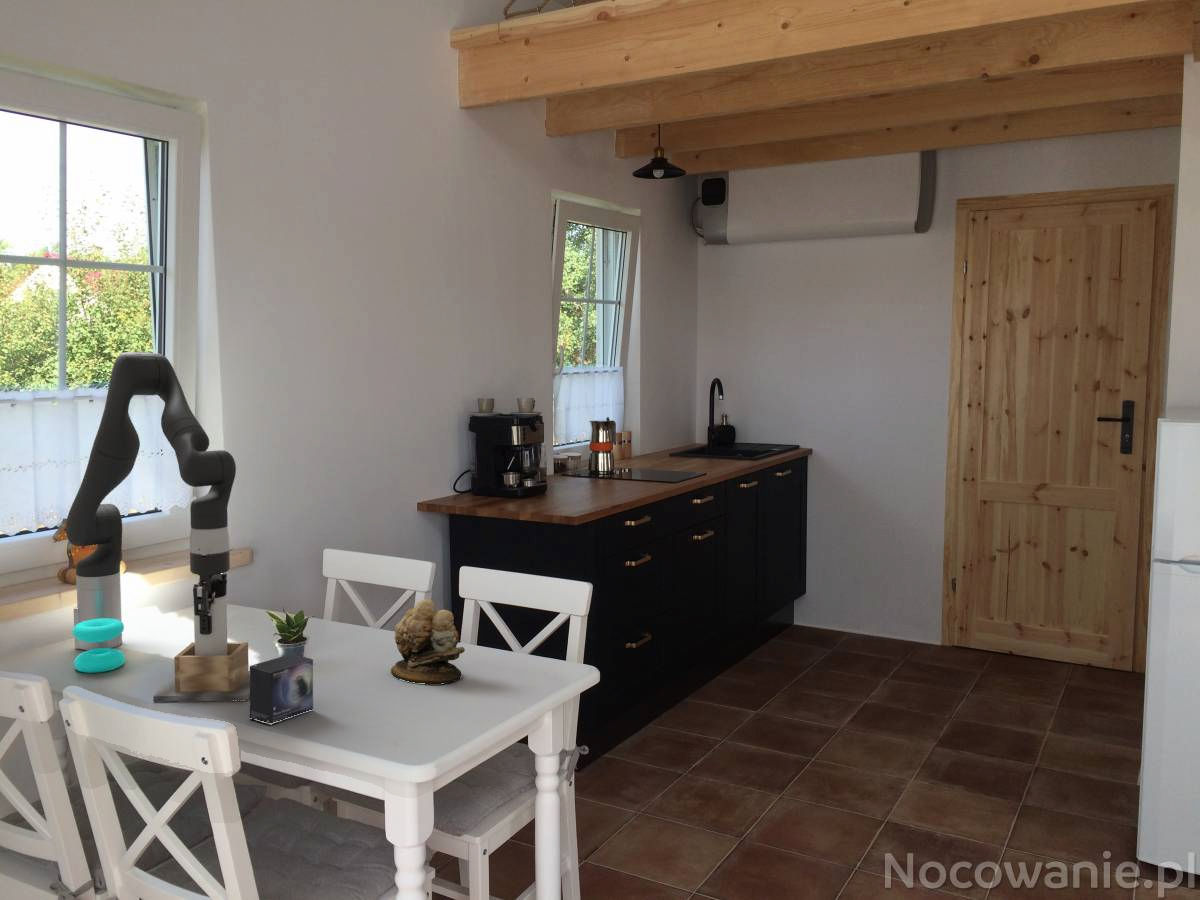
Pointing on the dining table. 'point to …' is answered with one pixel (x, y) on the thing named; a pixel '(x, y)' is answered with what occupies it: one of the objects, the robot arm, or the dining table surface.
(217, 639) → the travel mug
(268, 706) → the small box
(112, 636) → the donuts
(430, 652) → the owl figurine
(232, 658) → the box
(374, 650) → the dining table surface
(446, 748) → the dining table surface
